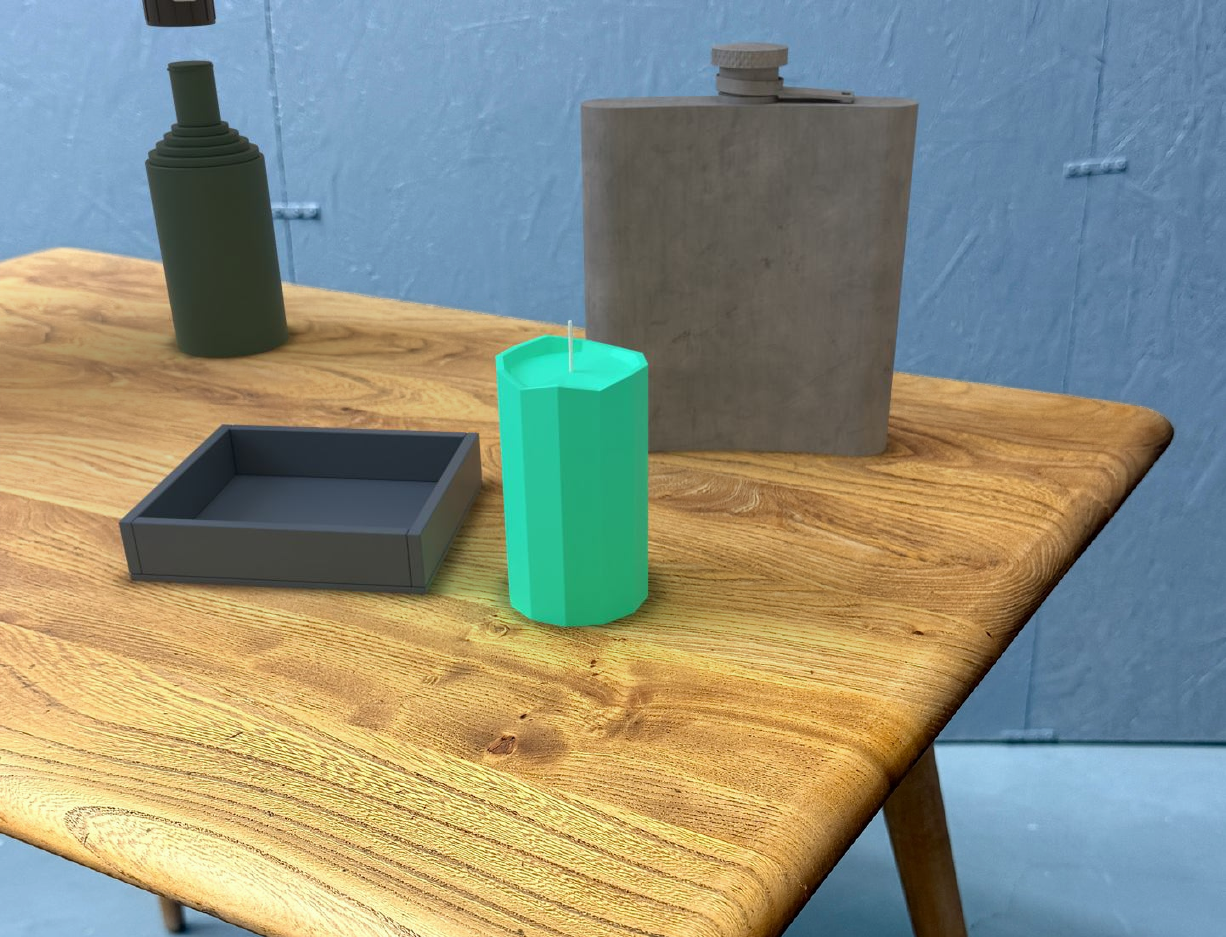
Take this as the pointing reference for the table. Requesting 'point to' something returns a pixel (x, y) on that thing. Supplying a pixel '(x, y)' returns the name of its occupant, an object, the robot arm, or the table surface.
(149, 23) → the cap
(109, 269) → the table surface
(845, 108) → the hip flask
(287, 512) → the tray
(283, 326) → the flask
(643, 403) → the candle
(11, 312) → the table surface
